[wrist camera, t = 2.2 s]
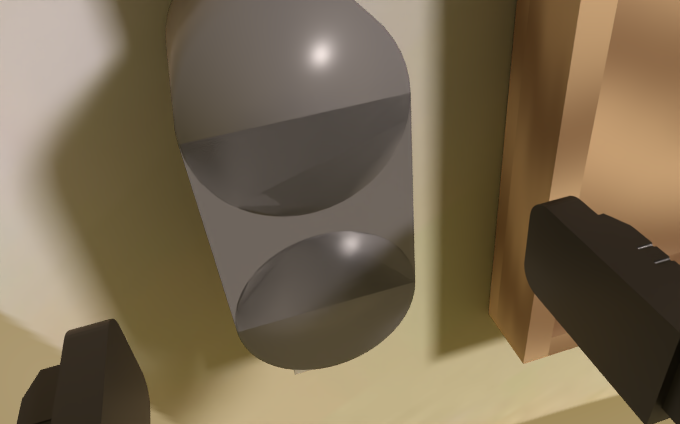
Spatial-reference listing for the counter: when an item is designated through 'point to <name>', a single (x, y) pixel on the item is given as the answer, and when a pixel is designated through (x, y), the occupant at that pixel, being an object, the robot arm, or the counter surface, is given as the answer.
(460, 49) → the counter surface
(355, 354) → the gray bottle
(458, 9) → the counter surface
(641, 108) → the oak tray
